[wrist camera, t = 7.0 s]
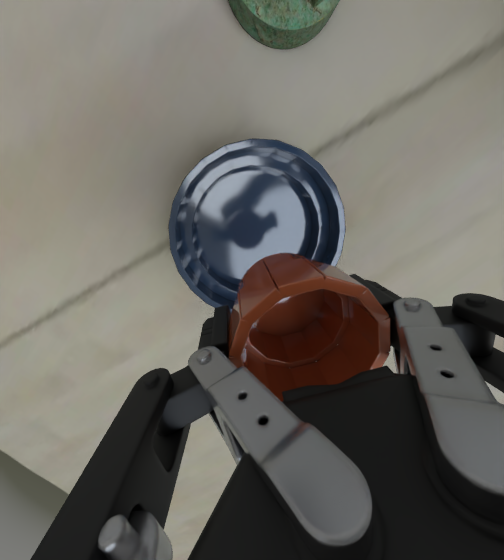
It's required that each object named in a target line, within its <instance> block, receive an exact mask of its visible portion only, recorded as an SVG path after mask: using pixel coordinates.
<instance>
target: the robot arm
mask: <svg viewBox="0 0 504 560" xmlns="http://www.w3.org/2000/svg"><path fill="white" fill-rule="evenodd" d="M349 276H350V277H352V278H353V279H355V280H356V281H358V282H359V283H361V284H362V285H364V286H365V287H367V288H368V289H369V290H370V291H371V293H372V294H373V295H374V296H375V298H376V299H377V300H378V302H379V303H380V304H381V305H382V307H383V308H384V309H385V310H386V312H387V313H388V314H389V318H390V346H393V355H394V361H395V366H396V371H397V373H393V372H392V371H391V370H390V369H389V368H388V366H383V367H379V368H375V369H371V370H367V371H363V372H360V373H358V374H356V375H354V376H352V377H351V378H349V379H347V380H345V381H343V382H341V383H339V384H333V385H307V386H303V387H299V388H295V389H291V390H287V391H283V392H282V395H283V400H284V401H282V402H281V401H280V400H279V399H278V398H277V397H276V396H275V395H274V394H273V393H272V392H271V391H270V390H269V389H268V388H267V387H266V386H265V385H264V384H262V383H261V382H260V381H259V380H258V379H257V378H256V377H255V376H254V375H253V374H252V373H251V372H250V371H249V370H248V369H247V368H246V367H245V366H243V365H242V366H240V367H239V368H237V367H236V366H235V365H234V364H233V363H232V362H231V361H230V360H229V319H230V316H231V313H230V309H229V306H228V305H225V306H221V307H217V308H215V312H214V317H212V318H208V319H207V320H206V321H205V322H204V324H203V327H202V332H201V337H200V342H199V347H198V350H197V351H196V352H194V353H193V354H192V355H191V356H190V358H189V360H188V366H187V367H185V368H183V369H181V370H179V371H177V372H175V373H173V374H171V375H170V373H169V371H168V370H167V369H165V368H158V369H154V370H152V371H150V372H148V373H146V374H145V375H143V376H142V377H141V378H140V379H139V380H138V381H137V382H136V384H135V385H134V387H133V389H132V390H131V392H130V394H129V395H128V397H127V399H126V400H125V402H124V404H123V406H122V407H121V409H120V411H119V412H118V414H117V416H116V417H115V419H114V421H113V422H112V424H111V426H110V427H109V429H108V431H107V432H106V434H105V436H104V437H103V439H102V441H101V442H100V444H99V446H98V447H97V449H96V451H95V452H94V454H93V456H92V457H91V459H90V461H89V462H88V464H87V466H86V467H85V469H84V471H83V473H82V474H81V476H80V478H79V479H78V481H77V483H76V484H75V486H74V488H73V489H72V491H71V493H70V494H69V496H68V498H67V499H66V501H65V503H64V504H63V506H62V508H61V510H60V511H59V513H58V514H57V516H56V518H55V520H54V521H53V523H52V524H51V526H50V528H49V530H48V531H47V533H46V535H45V536H44V538H43V540H42V541H41V543H40V545H39V546H38V548H37V550H36V551H35V553H34V555H33V556H32V558H31V560H172V558H173V551H172V545H171V542H170V539H169V538H168V536H167V535H166V533H165V532H164V526H165V522H166V518H167V515H168V511H169V507H170V503H171V499H172V495H173V491H174V487H175V484H176V480H177V476H178V472H179V468H180V464H181V460H182V457H183V453H184V449H185V445H186V441H187V437H188V433H189V429H190V425H191V423H192V422H194V421H195V420H197V419H199V418H201V417H203V416H204V415H206V414H208V413H209V415H210V417H211V419H212V420H213V422H214V424H215V425H216V427H217V429H218V430H219V432H220V434H221V436H222V437H223V439H224V441H225V442H226V444H227V446H228V448H229V450H230V452H231V454H232V456H233V458H234V460H235V462H236V464H237V467H236V469H235V471H234V472H233V474H232V476H231V478H230V480H229V482H228V484H227V486H226V488H225V489H224V491H223V493H222V495H221V497H220V499H219V501H218V503H217V505H216V507H215V508H214V510H213V512H212V514H211V516H210V518H209V520H208V522H207V524H206V526H205V527H204V529H203V531H202V533H201V535H200V537H199V539H198V541H197V543H196V545H195V546H194V548H193V550H192V552H191V554H190V556H189V558H188V560H504V405H503V404H500V403H499V402H497V400H496V399H495V398H494V396H493V394H492V393H491V391H490V389H489V387H488V386H487V384H486V382H488V383H489V384H491V385H492V386H494V387H495V388H497V389H499V390H500V391H502V392H503V393H504V353H503V352H501V351H499V350H498V349H496V348H494V347H493V345H494V340H495V334H497V335H499V336H501V337H503V338H504V301H502V300H499V299H496V298H493V297H490V296H487V295H482V294H473V293H467V294H460V295H457V296H455V297H454V298H453V304H452V306H444V307H433V306H432V304H431V303H429V302H428V301H426V300H423V299H419V298H401V297H399V296H398V295H396V294H394V293H393V292H391V291H389V290H387V289H386V288H384V287H382V286H381V285H379V284H378V283H376V282H373V281H369V280H364V279H362V278H361V277H359V276H357V275H356V274H353V275H349ZM484 380H485V381H486V382H485V381H484Z"/></svg>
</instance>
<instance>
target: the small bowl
mask: <svg viewBox="0 0 504 560" xmlns="http://www.w3.org/2000/svg"><path fill="white" fill-rule="evenodd" d="M337 344H338V345H337ZM389 352H390V318H389V314H388V313H387V312H386V310H385V309H384V308H383V307H382V305H381V304H380V303H379V302H378V300H377V299H376V298H375V296H374V295H373V294H372V293H371V291H370V290H369V289H368V288H367V287H365V286H364V285H362V284H361V283H359V282H358V281H356V280H355V279H353V278H352V277H350V276H349V275H347V274H346V273H344V272H343V271H341V270H340V269H338V268H337V267H335V266H331V265H328V264H325V263H321V262H318V261H314V260H311V259H308V258H306V257H304V256H301V255H299V254H294V253H278V254H273V255H270V256H267V257H265V258H263V259H261V260H259V261H258V262H256V263H255V264H254V265H252V266H251V267H250V268H249V269H248V270H247V272H246V273H245V274H244V276H243V278H242V279H241V281H240V284H239V287H238V291H237V297H236V300H235V303H234V306H233V310H232V313H231V316H230V319H229V360H230V361H231V362H232V363H233V364H234V365H235V366H236V367H237V368H239V367H240V366H242V365H243V366H245V367H246V368H247V369H248V370H249V371H250V372H251V373H252V374H253V375H254V376H255V377H256V378H257V379H258V380H259V381H260V382H261V383H262V384H264V385H265V386H266V387H267V388H268V389H269V390H270V391H271V392H272V393H273V394H274V395H275V396H276V397H277V398H278V399H279V400H280V401H281V402H282V401H284V400H283V395H282V392H283V391H287V390H291V389H295V388H299V387H303V386H307V385H333V384H339V383H341V382H343V381H345V380H347V379H349V378H351V377H352V376H354V375H356V374H358V373H360V372H363V371H367V370H371V369H375V368H379V367H382V366H383V364H384V362H385V361H386V359H387V357H388V356H389ZM316 361H317V362H316Z"/></svg>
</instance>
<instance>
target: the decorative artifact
mask: <svg viewBox="0 0 504 560" xmlns="http://www.w3.org/2000/svg"><path fill="white" fill-rule="evenodd" d="M228 1H229V3H230V6H231V8H232V10H233V12H234V14H235V16H236V18H237V19H238V21H239V22H240V24H241V25H242V27H243V28H244V29H245V30H246V31H247V32H248V33H249V34H250V35H251V36H252V37H253V38H254V39H256V40H257V41H259V42H260V43H262V44H264V45H266V46H269V47H272V48H277V49H290V48H294V47H298V46H300V45H303V44H304V43H306V42H308V41H309V40H311V39H312V38H313V37H315V36H316V35H317V34H318V33H319V32H320V31H321V29H322V28H323V27H324V26H325V24H326V23H327V21H328V20H329V18H330V16H331V15H332V13H333V11H334V9H335V8H336V6H337V4H338V2H339V1H340V0H228Z"/></svg>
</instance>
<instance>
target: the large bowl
mask: <svg viewBox="0 0 504 560" xmlns="http://www.w3.org/2000/svg"><path fill="white" fill-rule="evenodd" d="M168 228H169V239H170V250H171V253H172V256H173V259H174V261H175V264H176V267H177V269H178V272H179V274H180V275H181V276H182V278H183V279H184V281H185V282H186V284H187V285H188V286H189V288H190V289H191V290H192V291H193V292H194V293H195V294H196V295H197V296H199V297H200V298H201V299H202V300H203V301H204V302H206V303H207V304H208V305H210V306H212V307H214V308H217V307H221V306H225V305H228V306H229V309H230V313H232V310H233V306H234V303H235V300H236V297H237V291H238V287H239V284H240V281H241V279H242V278H243V276H244V274H245V273H246V272H247V270H248V269H249V268H250V267H251V266H252V265H254V264H255V263H256V262H258V261H259V260H261V259H263V258H265V257H267V256H270V255H273V254H278V253H294V254H299V255H301V256H304V257H306V258H308V259H311V260H314V261H318V262H321V263H325V264H328V265H331V266H335V267H336V264H337V262H338V260H339V258H340V255H341V252H342V248H343V242H344V236H345V230H346V229H345V217H344V207H343V204H342V201H341V198H340V196H339V193H338V190H337V187H336V185H335V183H334V182H333V180H332V179H331V178H330V176H329V175H328V173H327V172H326V170H325V169H324V168H323V166H322V165H321V164H320V163H319V162H317V161H316V160H315V159H313V158H312V157H311V156H310V155H308V154H307V153H306V152H304V151H303V150H301V149H299V148H297V147H294V146H292V145H289V144H286V143H284V142H281V141H279V140H268V139H247V140H243V141H239V142H235V143H231V144H227V145H224V146H223V147H221V148H219V149H218V150H216V151H214V152H213V153H211V154H209V155H208V156H206V157H204V158H203V159H202V160H201V161H200V162H199V163H198V164H197V165H196V166H195V167H194V168H193V169H192V170H191V172H190V173H189V174H188V175H187V176H186V177H185V179H184V180H183V182H182V184H181V186H180V188H179V190H178V192H177V194H176V196H175V198H174V200H173V204H172V209H171V215H170V220H169V227H168Z"/></svg>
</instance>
